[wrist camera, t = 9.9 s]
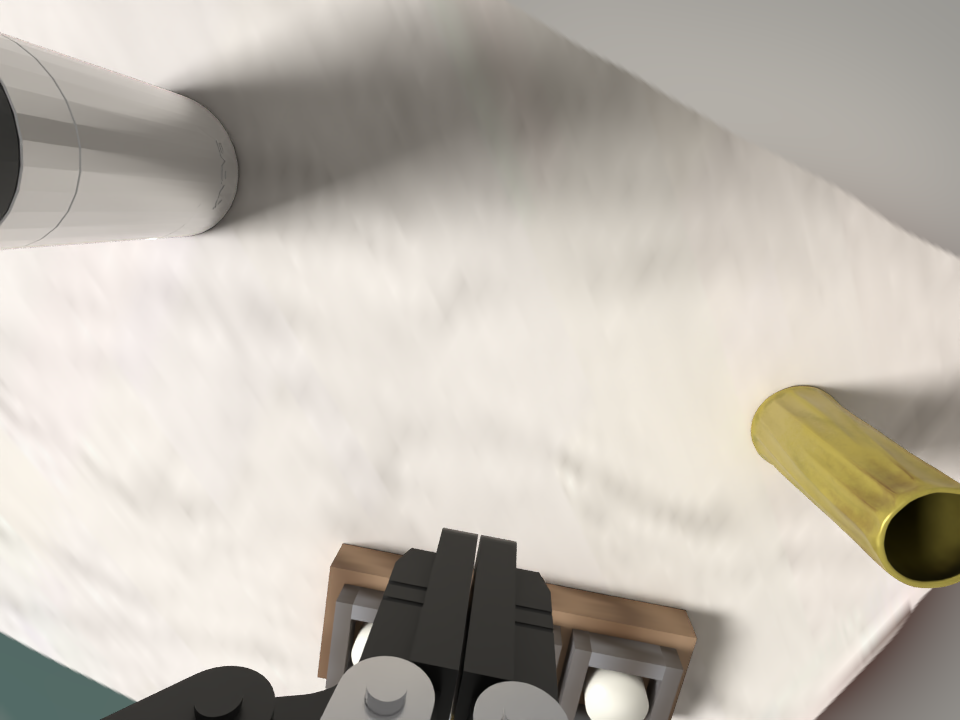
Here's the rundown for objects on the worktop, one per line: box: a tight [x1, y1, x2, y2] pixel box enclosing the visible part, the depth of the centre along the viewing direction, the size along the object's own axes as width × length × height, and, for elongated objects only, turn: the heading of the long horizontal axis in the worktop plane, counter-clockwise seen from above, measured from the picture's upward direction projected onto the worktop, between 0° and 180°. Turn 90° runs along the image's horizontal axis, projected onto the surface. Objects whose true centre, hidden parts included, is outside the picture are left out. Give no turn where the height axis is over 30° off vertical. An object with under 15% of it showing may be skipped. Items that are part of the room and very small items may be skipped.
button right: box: [583, 667, 649, 720], centre depth 42 cm, size 4×4×2 cm
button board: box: [318, 544, 697, 720], centre depth 43 cm, size 27×10×5 cm, turn 80°
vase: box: [751, 386, 960, 588], centre depth 33 cm, size 6×6×14 cm
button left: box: [351, 622, 373, 665], centre depth 42 cm, size 4×4×2 cm
